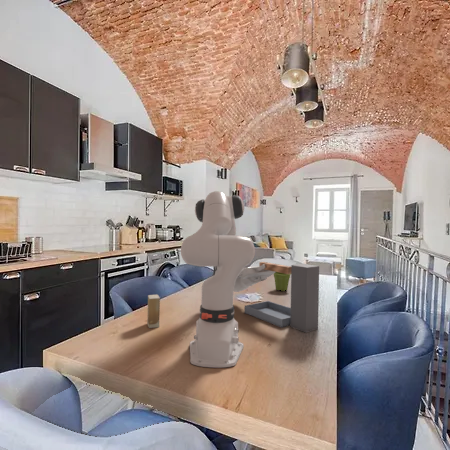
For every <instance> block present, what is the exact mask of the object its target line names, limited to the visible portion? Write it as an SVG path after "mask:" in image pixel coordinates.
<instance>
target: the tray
mask: <svg viewBox="0 0 450 450" xmlns="http://www.w3.org/2000/svg"><path fill="white" fill-rule="evenodd" d="M243 312H244V314H246V315H249V316H251V317H254V318H257V319H259V320H262V321H264V322H266V323H269V324H272V325H274V326H276V327H278V328H286V327H290V317H291V307H289V306H286V305H283V304H279V303H276V302H273V301H271V300H270V301H269V300H265V301H261V302H256V303H253V304H246V305H244V311H243Z"/></svg>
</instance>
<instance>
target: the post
mask: <svg viewBox="0 0 450 450" xmlns="http://www.w3.org/2000/svg"><path fill="white" fill-rule="evenodd" d="M290 266H291V275H290V308H291V317H290V326H289V327H291V328H293V329H296V330H298V331H301V332H303V333H309V332H311V331H315V330H317V329H319V306H320V305H319V299H320V298H319V295H320V265H315V264H307V263H299V264H298V263H297V264H292V265H290Z"/></svg>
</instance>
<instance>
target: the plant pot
mask: <svg viewBox="0 0 450 450" xmlns="http://www.w3.org/2000/svg"><path fill="white" fill-rule="evenodd" d="M273 277H274V285H275V290H276V291H277V290H281V291H280V292H286V291H285V290H287V291H288V287H289V282H290V279H291V274H284V273H280V272H275V273H274V274H273Z"/></svg>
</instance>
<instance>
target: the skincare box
mask: <svg viewBox="0 0 450 450" xmlns="http://www.w3.org/2000/svg"><path fill="white" fill-rule="evenodd" d="M160 304H161V297H160V296H159V294H148V295H147V317H146V318H147V324H146V325H147V327H148V328H149V329H153V328H154V329H155V328H160V313H161V312H160V308H161V305H160Z"/></svg>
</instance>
